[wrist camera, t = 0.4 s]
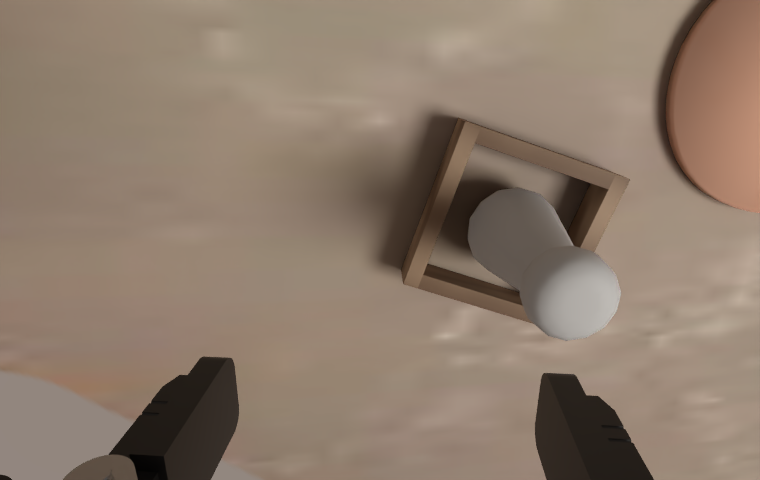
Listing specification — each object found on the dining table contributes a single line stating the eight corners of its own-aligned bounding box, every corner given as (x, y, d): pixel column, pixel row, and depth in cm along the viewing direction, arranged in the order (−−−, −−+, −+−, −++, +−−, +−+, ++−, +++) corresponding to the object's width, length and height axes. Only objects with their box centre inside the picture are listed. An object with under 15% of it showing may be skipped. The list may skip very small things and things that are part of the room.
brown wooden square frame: (458, 117, 32) (465, 121, 30) (611, 171, 33) (630, 179, 31) (401, 269, 35) (403, 284, 33) (543, 313, 36) (555, 330, 34)
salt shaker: (465, 266, 35) (516, 371, 23) (456, 188, 33) (507, 254, 21) (547, 254, 35) (645, 352, 23) (544, 174, 33) (647, 234, 21)
